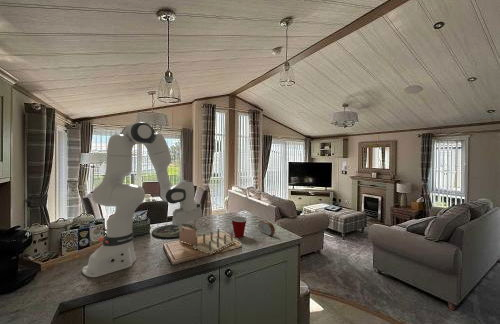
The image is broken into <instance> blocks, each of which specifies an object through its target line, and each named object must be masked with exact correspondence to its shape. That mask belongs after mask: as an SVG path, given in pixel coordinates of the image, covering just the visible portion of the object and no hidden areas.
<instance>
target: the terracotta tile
mask: <svg viewBox="0 0 500 324" xmlns="http://www.w3.org/2000/svg"><path fill="white" fill-rule="evenodd" d="M182 228H184V231H180V228H179V232H180V238H179V242H180V241H183V242H186V243H189V244H191V245H190V246H192V245H193V246H194V244H195V237H197V234H196V233H197V229H196V230H195V229H191V228H188V227H184V226H182ZM186 243H185V244H186ZM189 244H188V245H189Z"/></svg>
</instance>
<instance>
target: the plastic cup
mask: <svg viewBox="0 0 500 324" xmlns="http://www.w3.org/2000/svg"><path fill="white" fill-rule="evenodd" d="M230 219H231V222H232V231H233V233H234V234H233V235H234V238H243V237H244V236H245V229H246V224H247V221H248V218H247V217H244V216H240V215H239V216H237V215H236V216H233V217H232V216H231V217H230Z"/></svg>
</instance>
